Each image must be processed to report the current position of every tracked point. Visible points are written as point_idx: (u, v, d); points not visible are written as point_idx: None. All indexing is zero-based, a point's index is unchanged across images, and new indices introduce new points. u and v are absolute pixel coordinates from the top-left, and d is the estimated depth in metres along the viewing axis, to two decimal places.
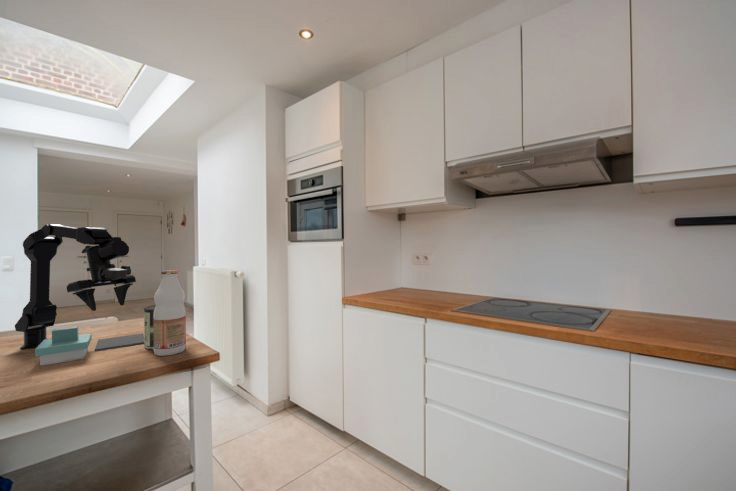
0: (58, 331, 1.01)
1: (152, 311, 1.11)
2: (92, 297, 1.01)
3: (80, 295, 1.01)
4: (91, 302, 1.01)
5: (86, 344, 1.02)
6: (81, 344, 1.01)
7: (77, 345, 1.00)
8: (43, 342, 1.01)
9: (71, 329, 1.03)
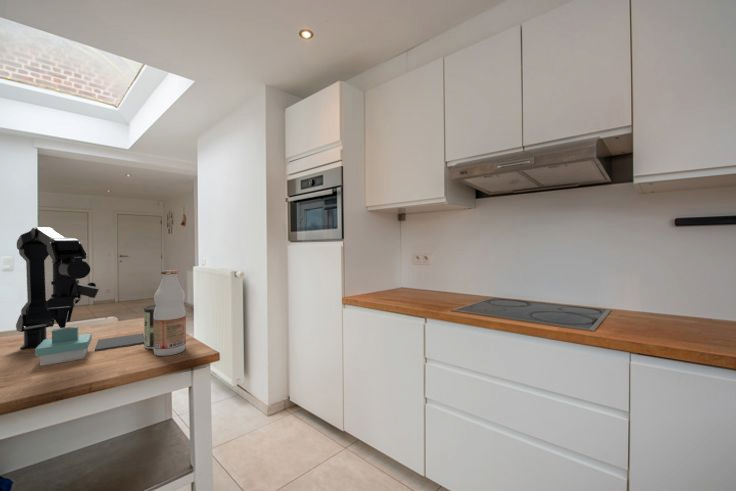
0: (58, 331, 1.01)
1: (152, 311, 1.11)
2: (67, 314, 0.99)
3: (53, 311, 0.97)
4: (65, 319, 0.99)
5: (86, 344, 1.02)
6: (81, 344, 1.01)
7: (77, 345, 1.00)
8: (43, 342, 1.01)
9: (71, 329, 1.03)
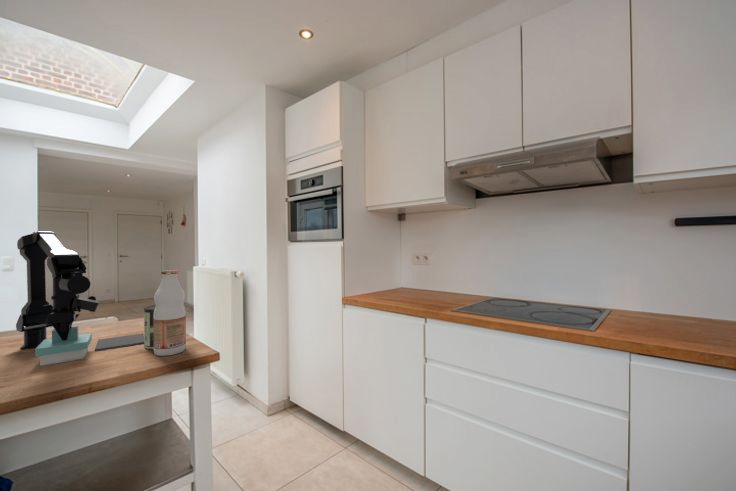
0: None
1: (152, 311, 1.11)
2: (69, 326, 1.02)
3: (55, 324, 0.99)
4: (67, 332, 1.02)
5: (86, 344, 1.02)
6: (81, 344, 1.01)
7: (77, 345, 1.00)
8: (43, 342, 1.01)
9: (71, 329, 1.03)
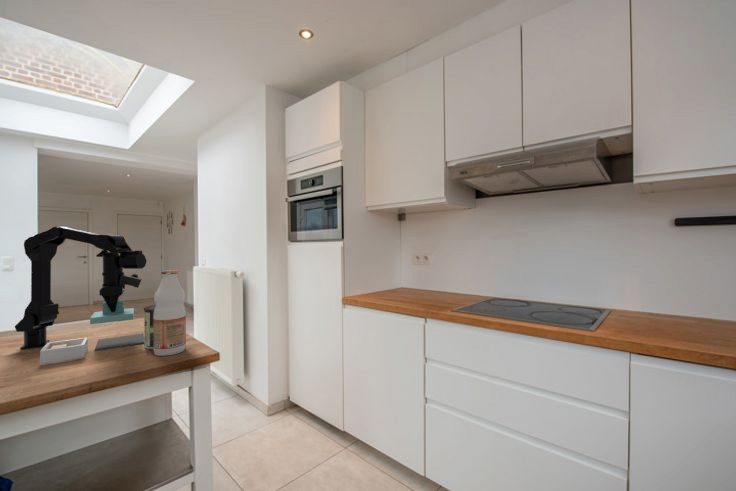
0: None
1: (152, 311, 1.11)
2: (117, 300, 1.15)
3: (106, 297, 1.12)
4: (115, 304, 1.15)
5: (132, 315, 1.15)
6: (128, 315, 1.14)
7: (124, 316, 1.13)
8: (95, 313, 1.14)
9: (118, 302, 1.16)
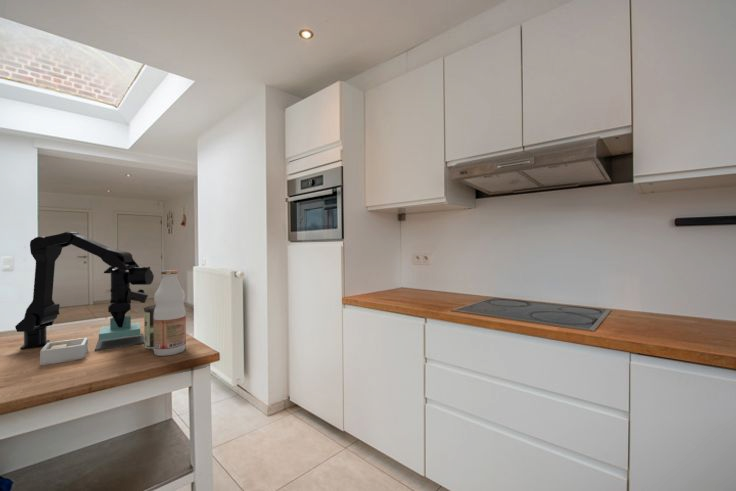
0: None
1: (152, 311, 1.11)
2: (124, 315, 1.17)
3: (114, 313, 1.15)
4: (123, 320, 1.17)
5: (139, 331, 1.17)
6: (135, 330, 1.17)
7: (132, 331, 1.16)
8: (102, 329, 1.17)
9: (125, 318, 1.18)
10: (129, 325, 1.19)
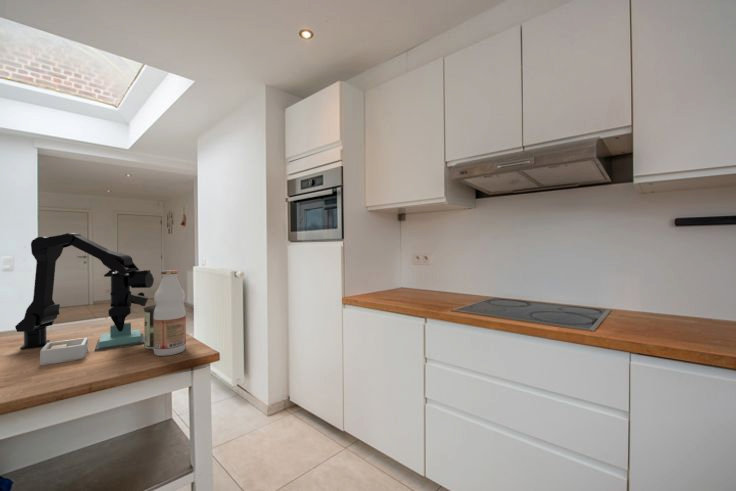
0: (115, 326, 1.17)
1: (152, 311, 1.11)
2: (124, 319, 1.17)
3: (114, 317, 1.14)
4: (123, 324, 1.16)
5: (139, 338, 1.17)
6: (135, 338, 1.17)
7: (132, 338, 1.16)
8: (102, 336, 1.17)
9: (126, 325, 1.18)
10: (129, 332, 1.19)
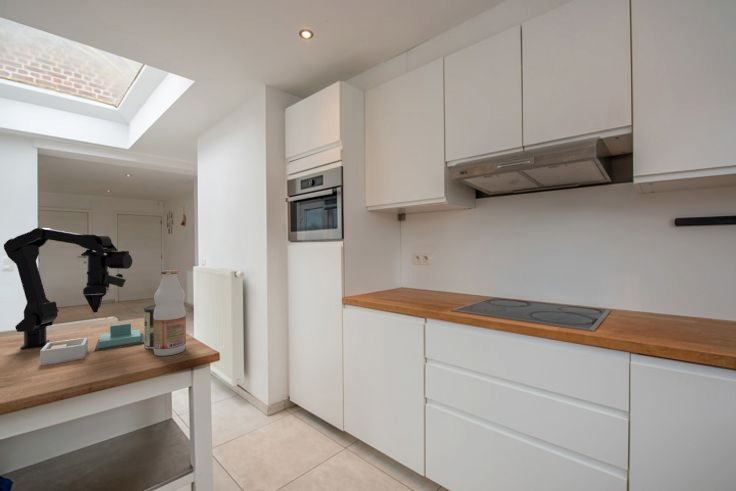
0: (115, 326, 1.17)
1: (152, 311, 1.11)
2: (100, 300, 1.14)
3: (88, 297, 1.11)
4: (98, 305, 1.14)
5: (139, 338, 1.17)
6: (135, 338, 1.17)
7: (132, 338, 1.16)
8: (102, 336, 1.17)
9: (126, 325, 1.18)
10: (129, 332, 1.19)
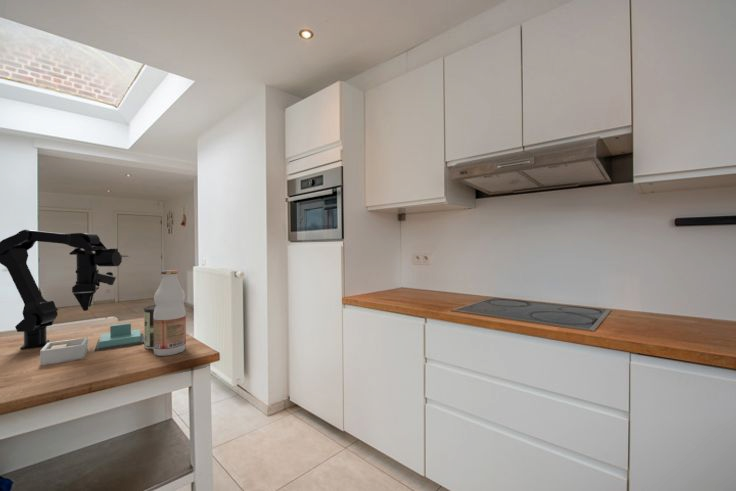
0: (115, 326, 1.17)
1: (152, 311, 1.11)
2: (89, 298, 1.14)
3: (78, 295, 1.11)
4: (88, 303, 1.13)
5: (139, 338, 1.17)
6: (135, 338, 1.17)
7: (132, 338, 1.16)
8: (102, 336, 1.17)
9: (126, 325, 1.18)
10: (129, 332, 1.19)
